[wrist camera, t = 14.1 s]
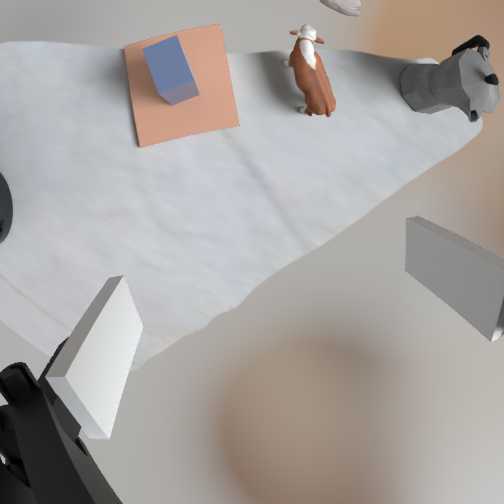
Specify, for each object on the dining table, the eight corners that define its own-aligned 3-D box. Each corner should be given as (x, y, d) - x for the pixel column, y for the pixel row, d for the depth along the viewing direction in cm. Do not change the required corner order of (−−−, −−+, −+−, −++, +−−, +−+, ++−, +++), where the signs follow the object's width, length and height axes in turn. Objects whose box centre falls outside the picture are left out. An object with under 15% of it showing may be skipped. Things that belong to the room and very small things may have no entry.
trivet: (141, 147, 39) (140, 147, 38) (125, 48, 34) (124, 46, 33) (239, 125, 40) (239, 125, 39) (220, 26, 34) (220, 23, 33)
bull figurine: (302, 36, 36) (319, 17, 28) (325, 118, 41) (347, 113, 33) (274, 39, 36) (286, 19, 28) (297, 123, 41) (314, 119, 33)
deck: (158, 69, 35) (141, 49, 26) (185, 58, 35) (177, 34, 26) (172, 105, 37) (158, 94, 28) (200, 94, 37) (194, 79, 28)
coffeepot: (430, 134, 43) (508, 140, 26) (389, 108, 41) (466, 101, 24) (447, 64, 38) (518, 52, 22) (408, 36, 36) (477, 10, 20)
